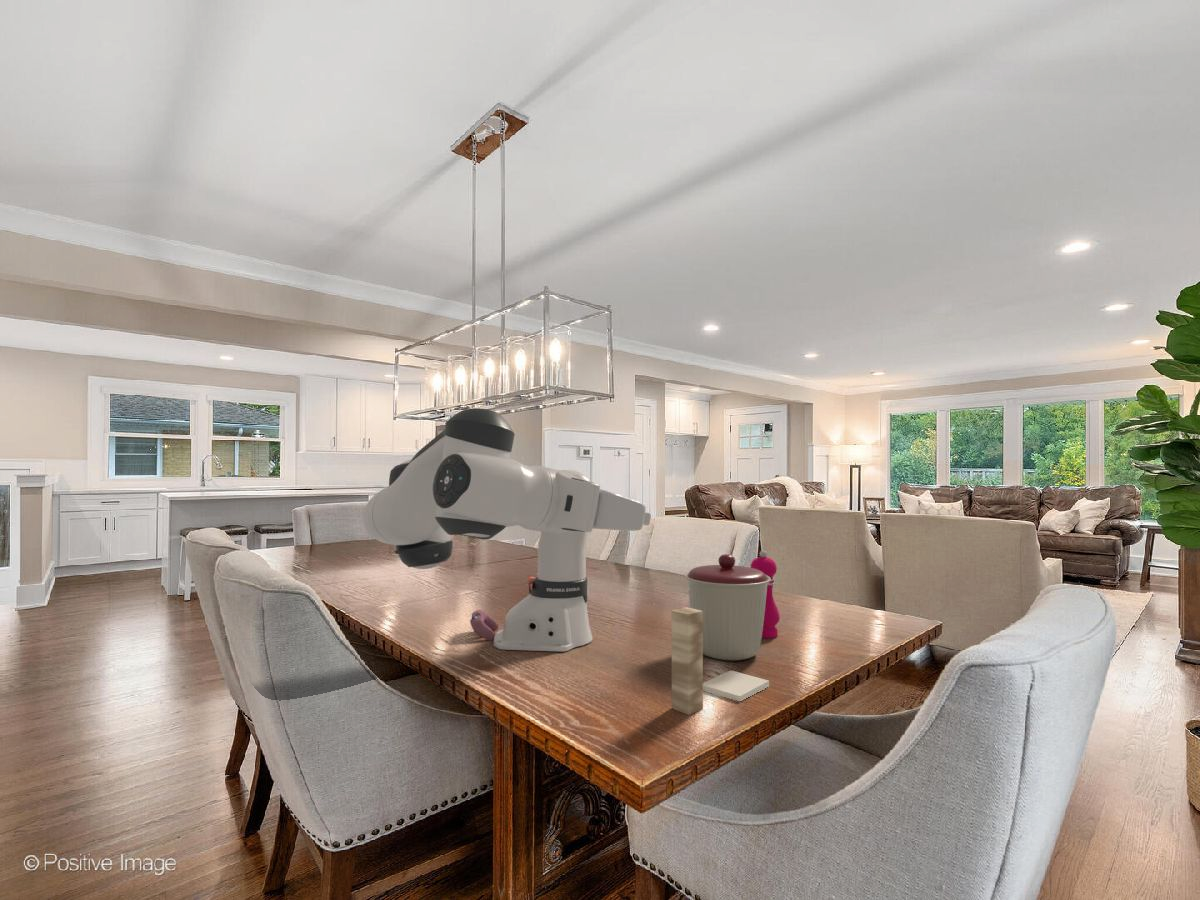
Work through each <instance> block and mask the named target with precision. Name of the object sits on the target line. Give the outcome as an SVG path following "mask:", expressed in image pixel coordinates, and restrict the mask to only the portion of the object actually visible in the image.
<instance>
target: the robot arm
mask: <svg viewBox="0 0 1200 900" xmlns="http://www.w3.org/2000/svg"><path fill="white" fill-rule="evenodd" d="M444 423H445V425H444V429H443V430H442V431H441V432H440V433H438V434H437V435H436V436H435V437H434V438H433V439H431V440H430V441H429V442H427V444H425V445H424V446H423V447H422V448H420V449H419V451H417V452H416V453H415V454H414V456H413V457H412V458H411V459H408V460H405V461H403V462H401V463H400V464H397V465H395V466H394V467H393V468H392V469H391V470H390V472H389V479H388V486H386V487H385V488H383V489H381V490H379V491H378V492H376V493H375V494H374V495H373V496H372V497H371V498H370V499H369V501H367V503H366V505H365V507H364V510H363V513H362V524H363V526H364V529H365V531H366V533H368V534H369V536H370V537H371V538H373V539H374V540H376V541H378V542H380V543H383V544H387V545H391V546H395V550H394V551H393V552H394V553H395V555H398V557H399V559H400V561H401V563H402V564H403V565H405V566H406V567H407V568H414V569H417V570H429V569H433V568H436V567H438V566H440V565H441V564H443V563H445V562H447V561H448V560H449V559H450V557H451V556H452V553H453V545H454V543H453V540H452V536H457V535H459V536H464V537H469V538H474V539H477V540H478V539H479V540H490V539H492V538H494V537H495V536H496V535H498V534H499V533H501V532H502V531H503V530H505V528H510V527H514V526H515V527H516V526H519V527H521V528H523V529H526V530H529V531H536V532H540V536H539V541H538V543H537V577H535V576H529V577H528V578H527V584H528V595H527V596H525V597H524V598H523V599H522V600H521V601H519V602H518V603H517V604H515V605H513V606H512V607H511V608H510V609H509V610H508V612H507V614H506V616H505V619H504V623H503V624H504V625H503V628H502V629H500V630H498V631H497V632H496V633H495V636H494V639H493V646H494V647H495V648H496V649H499V650H505V651H511V650H512V651H533V652H534V651H535V652H562V653H563V652H568V651H569V650H570V651H571V650H572V649H574V648H578V647H581V646H585V645H587V644H590V642H593V639H594V638H593V634H592V630H591V625H590V621H589V614H588V605H587V602H588V599H589V582H588V577H587V576H586V575H587V574H586V573H587V571H586V569H587V567H586V565H587V564H586V563H587V561H586V560H587V555H586V553H587V539H588V538H587V537H588V533H591V532H592V531H593V529H594V530H596V529H597V530H611V531H628V532H629V531H630V532H631V531H633V532H635V531H640V530H642V528H643V527H644V526H648V525H650V522H651V517H652V515H651V513H649V512H646V510H647V509H646V508H647V507H646V505H645V504H643V503H642V502H641V501H638V500H635V499H632V498H630V497H627V496H623V495H620V494H617V493H615V492H611V491H608V490H605V489H601V485H600V484H599V483H595V482H594V481H593V482H592V481H591V480H590V479H589V478H588V477H587V476H585V474H583V473H581V472H579V471H577V470H572V469H571V470H569V469H568V470H567V469H565V470H564V469H563V470H561V469H555V468H550V467H546V466H542V465H525V464H523V463H521V462H520V461H518V460H517V459H513V458H511V453H512V451H513V450H512V449H513V446H514V445H513V444H514V439H515V432H514V430H513V429H512V427H511V425H510V424H509V422H508V421H507V420H506V419H505V418H504V417H503V416H502V414H500V413H499V412H496V411H495V410H491V409H487V408H479V407H478V408H477V407H476V408H475V407H474V408H466V409H464V410H463V409H462V410H461V411H459V412H457V413H456V414H454V415H451V417H450V418H449V419H448V420H446V422H444Z"/></svg>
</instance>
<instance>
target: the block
mask: <svg viewBox="0 0 1200 900" xmlns="http://www.w3.org/2000/svg"><path fill="white" fill-rule="evenodd" d="M703 658H704V654H703V611H700V610H696V609H692V608H690V607H687V606H686V607H685V606H684V607H681V608H677V609H672V610H671V709H673V710H675V711H678V712H681V713H683V714H685V715H688V716H690V715H691V714H692V715H693V714H694V713H697V712H699V711H702V710H703V709H704V694H703V693H704V691H703V683H704V679H703V678H704V673H703V672H704V668H703V665H704V663H703V662H704V659H703Z"/></svg>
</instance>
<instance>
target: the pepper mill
mask: <svg viewBox="0 0 1200 900" xmlns="http://www.w3.org/2000/svg"><path fill="white" fill-rule="evenodd" d="M777 567H778V566H777V564H776V562H775V561H774V560H773V558H770V557H768V551H766V550H760V552H759V556H758V557H755V558H754V559H753V560H752V561H751V562H750V568H754V569H757V570H760V571H762V572H763V573H764V574H765V575H767V576H769V577H770V578H771V581H770V582H769V583H768V584H767V595H766V604H765V614H764V623H763V631H762V638H761V639H775V638H777V637H778V635H779V634H778V633H779V631H778V628H777V625H778V623H779V622H780V612H779V609H778V606H777V604H776V601H775V599H774V595H773V586H774V585H775V578H774V576H775V575H776V573H777ZM774 637H775V638H774Z"/></svg>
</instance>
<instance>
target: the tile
mask: <svg viewBox="0 0 1200 900" xmlns="http://www.w3.org/2000/svg"><path fill="white" fill-rule="evenodd" d="M767 687H768V688H769V687H770V680H768V679H764V678H762V677H761V678H760V677H757V676H753V675H749V674H746V673H742V672H739V671H735V670H729V671H725V672H724V673H722V674H720V675H717V676H715V677H714V678H711V679H709V680H707V681H705V682H703V692H706V693H708V692H709V694H711V693H712V695H715V696H718V695H719V696H718V697H721V696H722V697H721V698H724V697H726V698H725V699H727V698H730V699H729V700H731V699H733V700H732V701H734V700H737V701H742V700H744V699H746V698H748V697H750V696H751V697H753V696H755V695H757V694H758V693H757V692H759V693H760V691H761V692H762V690H763V691H764V690H766V689H768V688H767ZM765 688H766V689H765ZM756 693H757V694H756ZM754 694H755V695H754ZM752 695H753V696H752ZM751 697H750V698H751ZM748 699H749V698H748ZM746 700H747V699H746ZM737 701H736V702H737ZM744 701H745V700H744ZM742 702H743V701H742Z"/></svg>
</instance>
